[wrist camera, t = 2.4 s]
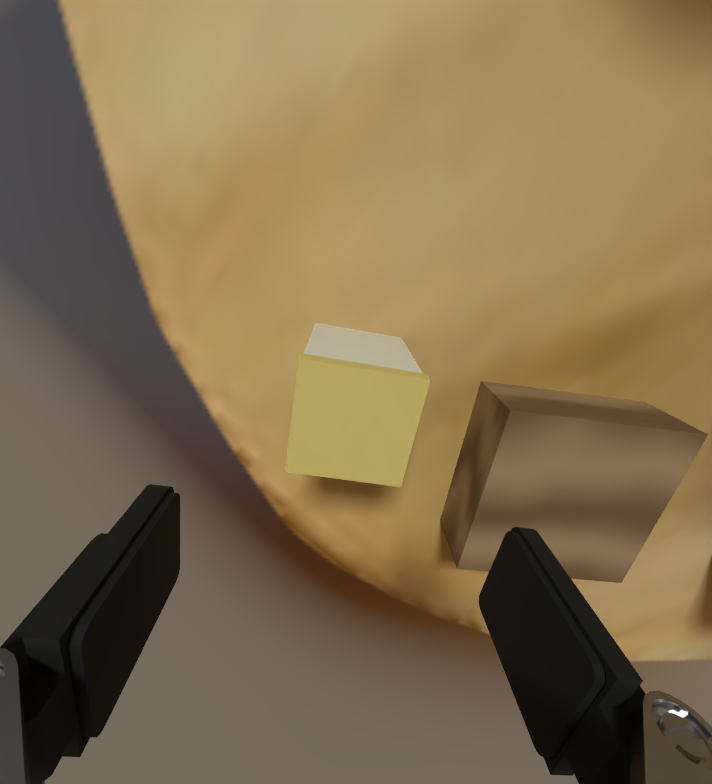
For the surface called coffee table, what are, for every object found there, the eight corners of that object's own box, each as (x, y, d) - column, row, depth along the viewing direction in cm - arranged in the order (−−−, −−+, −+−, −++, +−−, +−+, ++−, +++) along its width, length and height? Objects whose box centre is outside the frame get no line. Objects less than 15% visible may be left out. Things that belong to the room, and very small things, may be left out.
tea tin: (314, 321, 22) (298, 358, 15) (403, 336, 23) (430, 379, 15) (303, 402, 24) (284, 471, 17) (384, 415, 25) (400, 487, 17)
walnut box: (479, 379, 24) (510, 410, 20) (641, 400, 25) (707, 434, 21) (439, 516, 29) (457, 568, 24) (578, 530, 30) (621, 582, 25)
